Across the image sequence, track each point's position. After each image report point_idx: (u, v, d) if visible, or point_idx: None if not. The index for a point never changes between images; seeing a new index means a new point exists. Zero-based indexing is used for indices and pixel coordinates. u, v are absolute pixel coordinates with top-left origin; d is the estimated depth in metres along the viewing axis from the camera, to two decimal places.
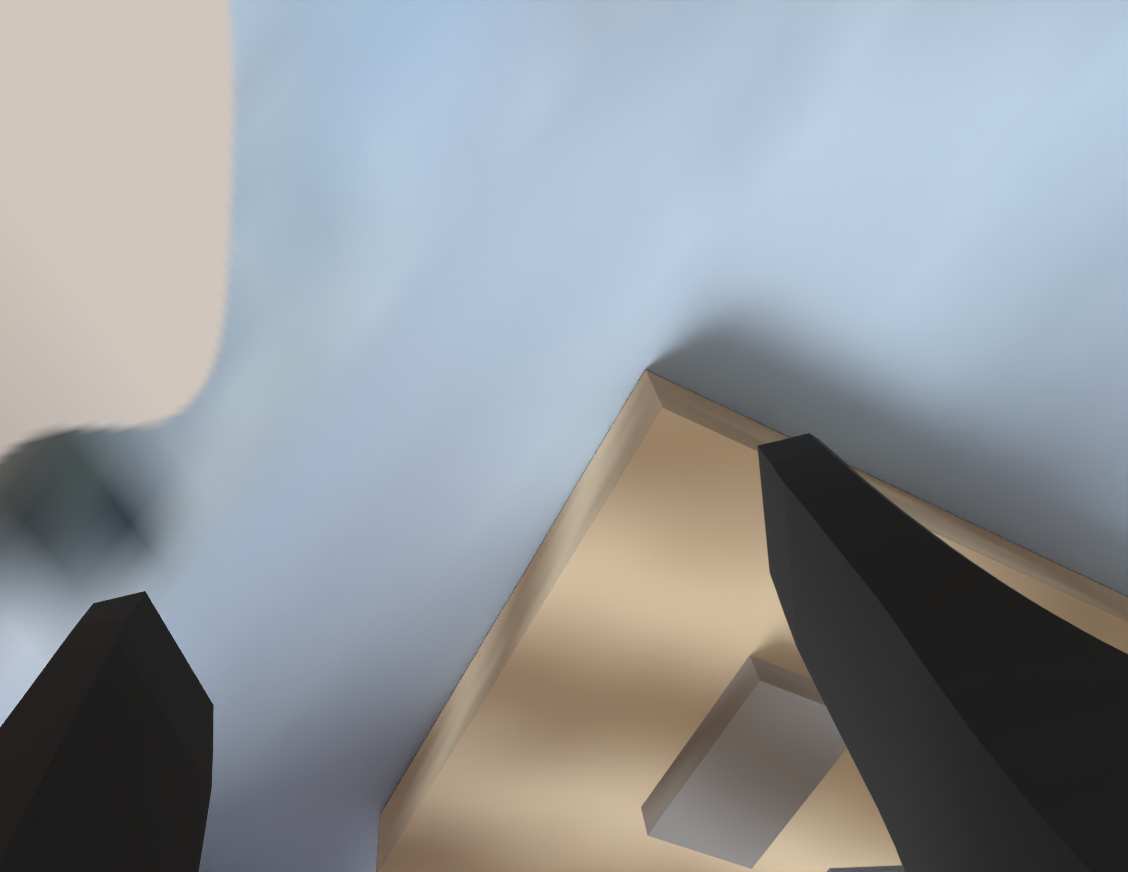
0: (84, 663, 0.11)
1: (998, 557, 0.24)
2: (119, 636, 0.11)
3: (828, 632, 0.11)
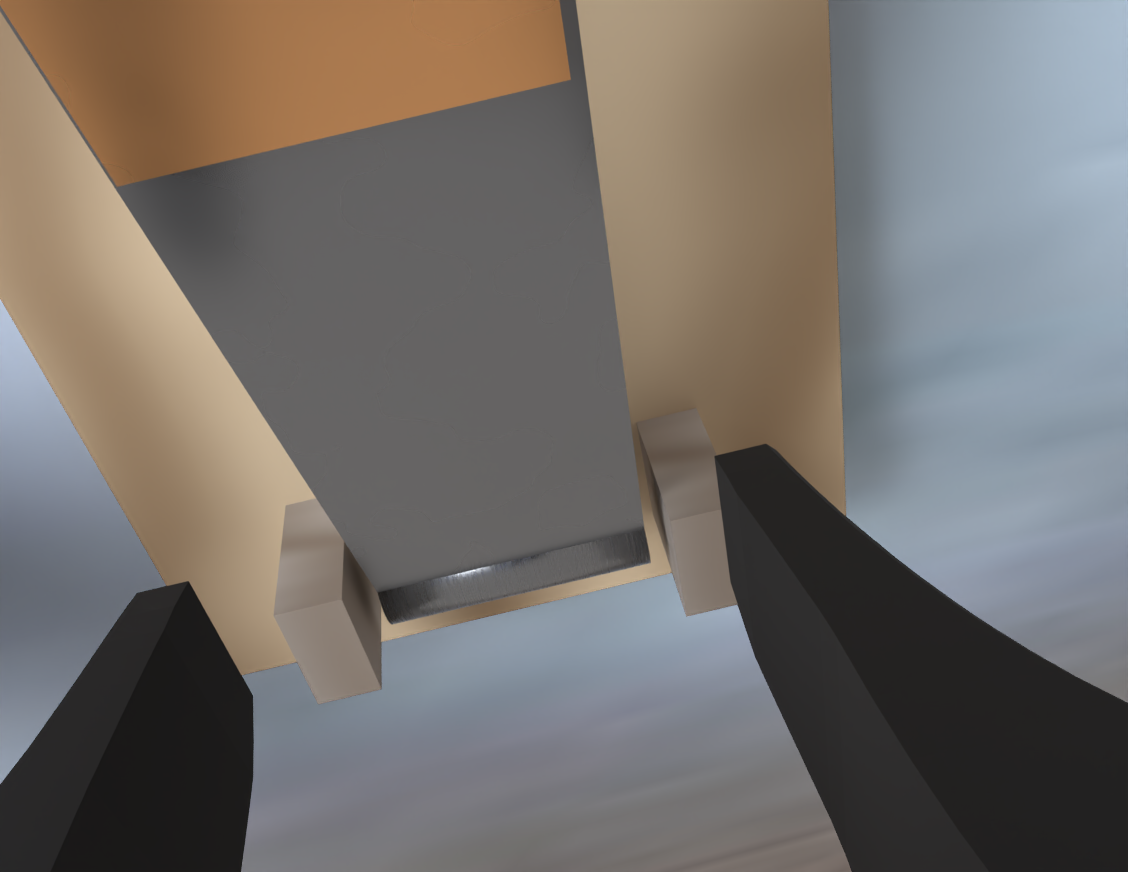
0: (133, 651, 0.11)
1: None
2: (166, 625, 0.11)
3: (781, 643, 0.11)
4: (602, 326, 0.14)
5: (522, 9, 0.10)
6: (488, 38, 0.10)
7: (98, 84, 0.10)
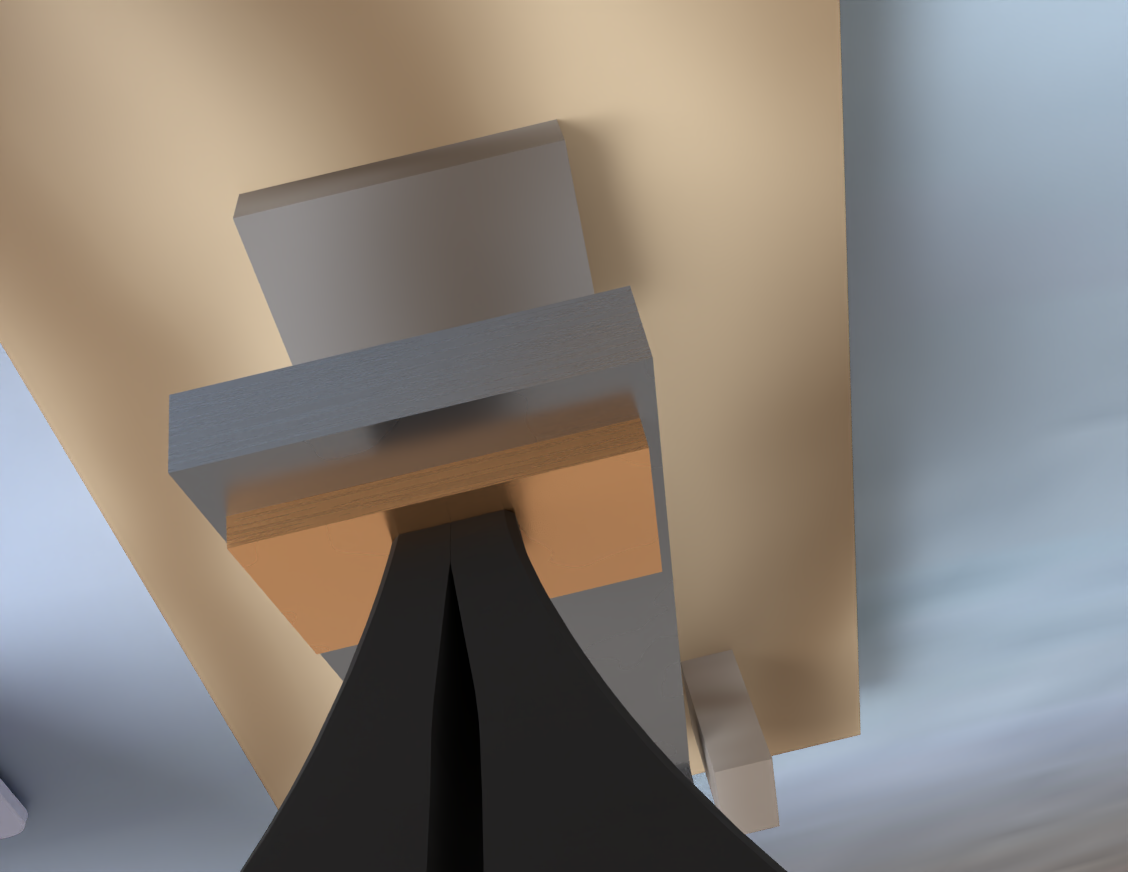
0: (425, 582, 0.11)
1: None
2: (450, 557, 0.11)
3: None
4: (668, 666, 0.18)
5: (631, 547, 0.13)
6: (604, 561, 0.13)
7: (317, 612, 0.13)
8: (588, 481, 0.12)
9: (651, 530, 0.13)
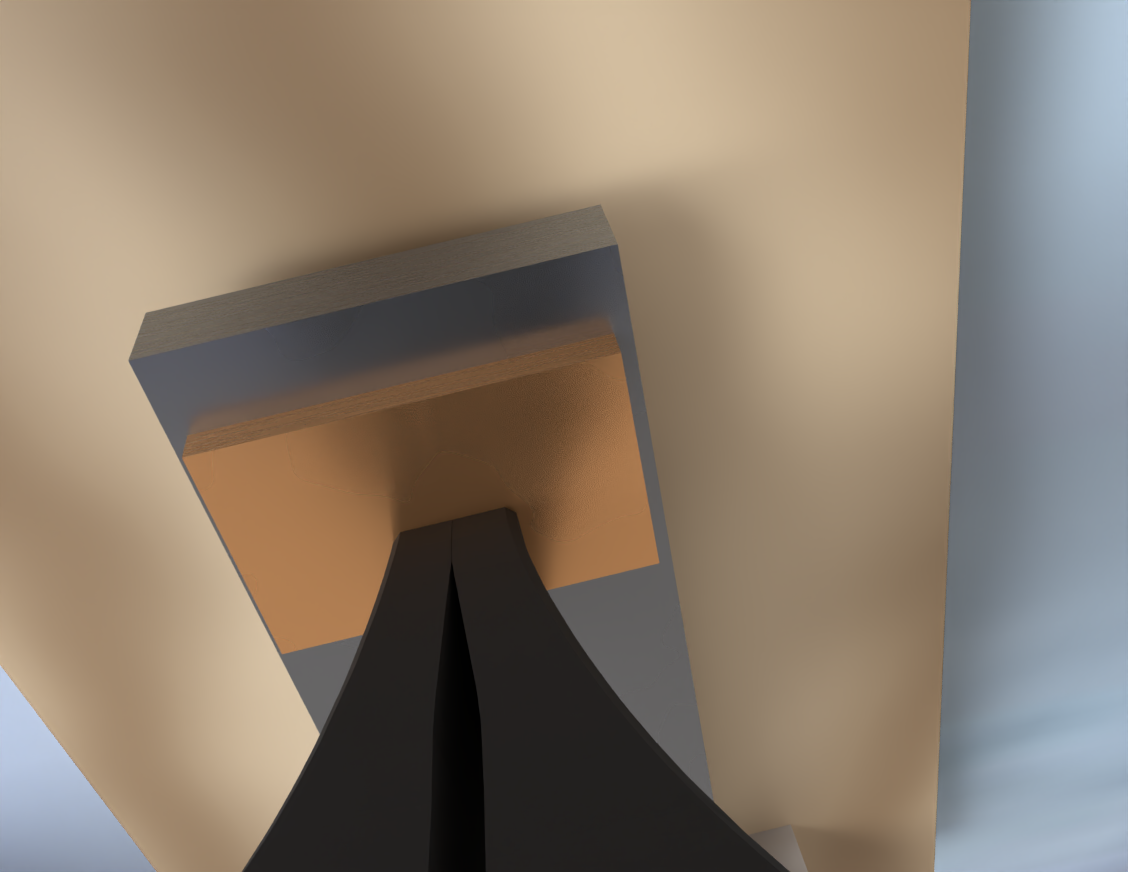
0: (426, 582, 0.11)
1: None
2: (451, 557, 0.11)
3: None
4: (691, 760, 0.16)
5: (619, 514, 0.12)
6: (591, 536, 0.12)
7: (280, 579, 0.12)
8: (561, 398, 0.11)
9: (639, 489, 0.12)
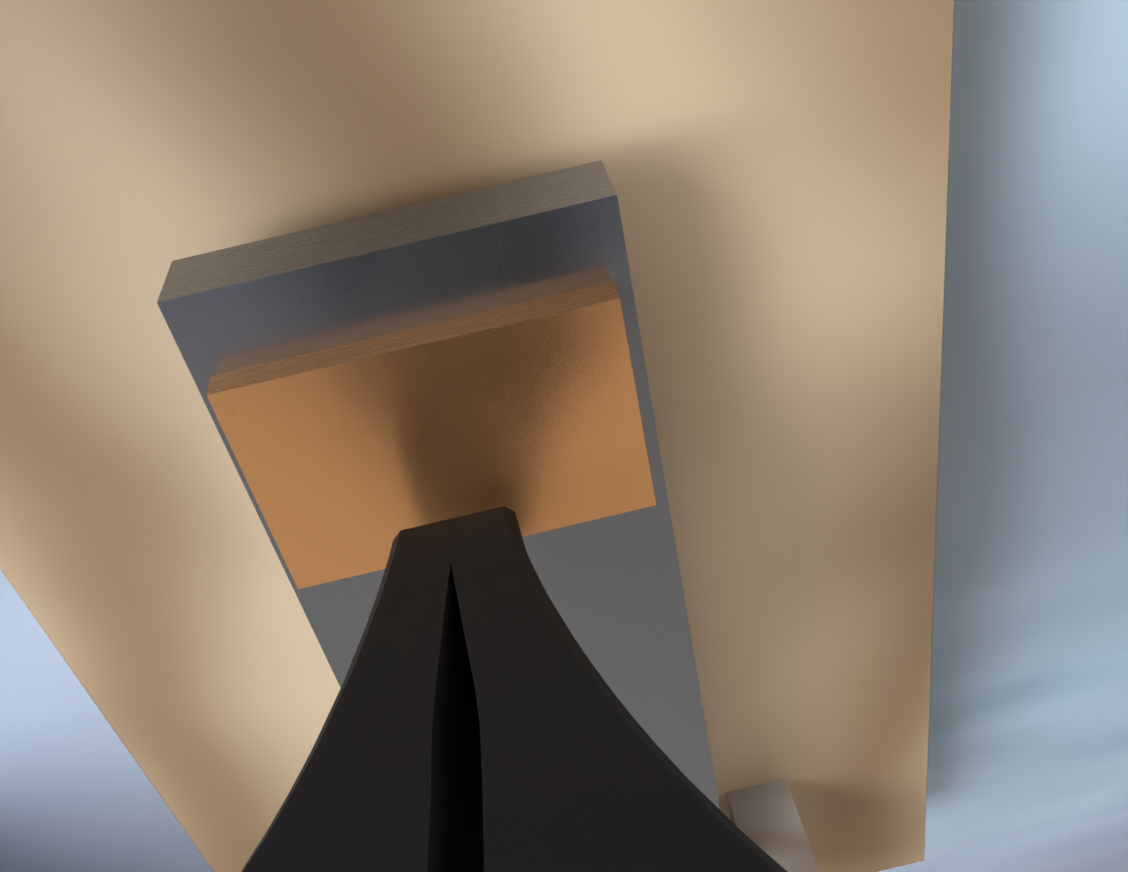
0: (426, 582, 0.11)
1: None
2: (451, 557, 0.11)
3: None
4: (688, 703, 0.16)
5: (618, 456, 0.13)
6: (591, 477, 0.13)
7: (297, 515, 0.13)
8: (563, 342, 0.12)
9: (637, 432, 0.13)
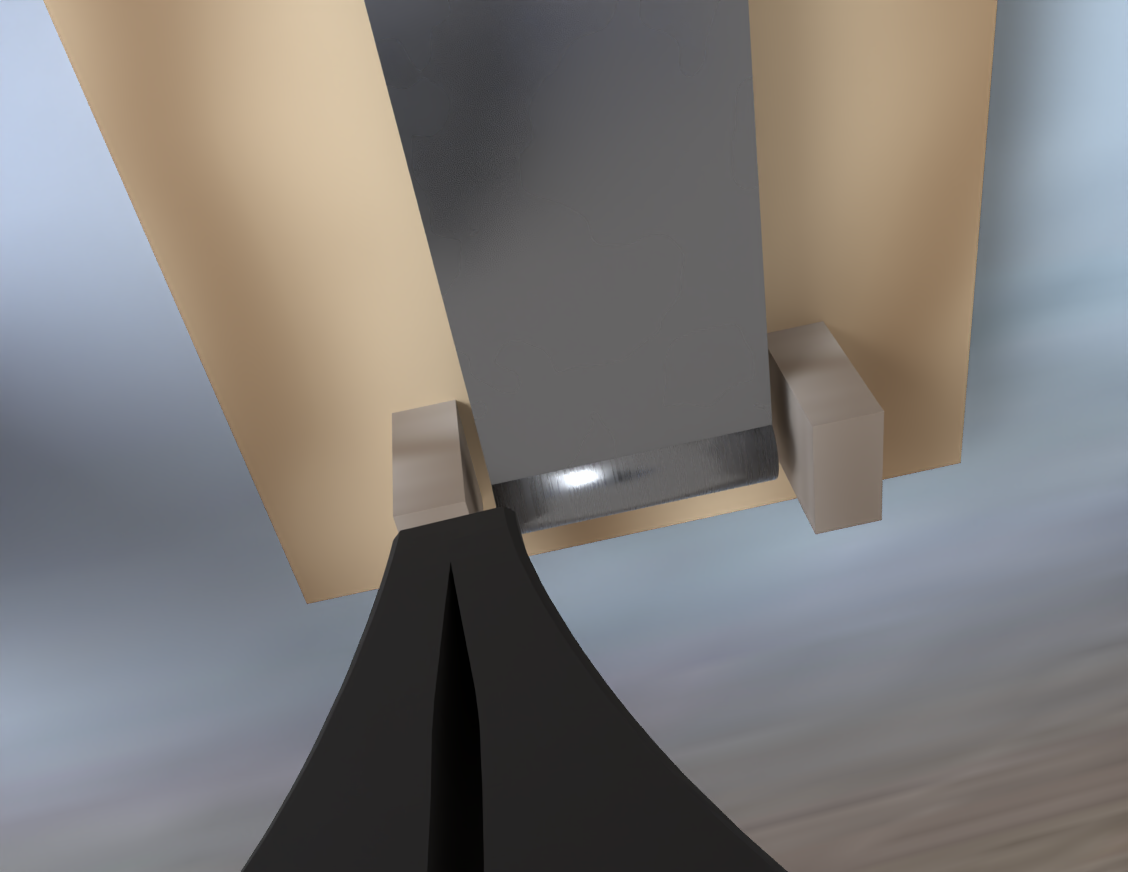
0: (426, 582, 0.11)
1: None
2: (451, 557, 0.11)
3: None
4: (738, 88, 0.15)
5: None
6: None
7: None
8: None
9: None
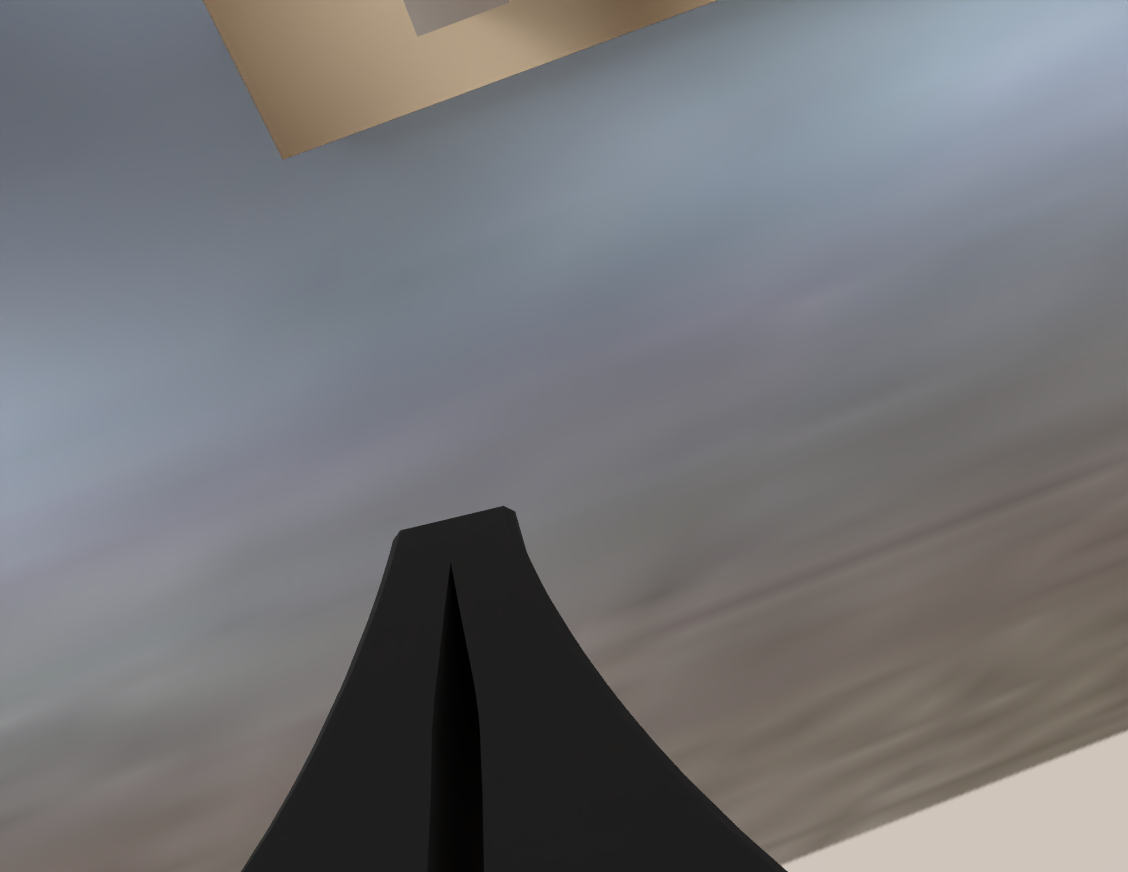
0: (426, 582, 0.11)
1: None
2: (451, 557, 0.11)
3: None
4: None
5: None
6: None
7: None
8: None
9: None
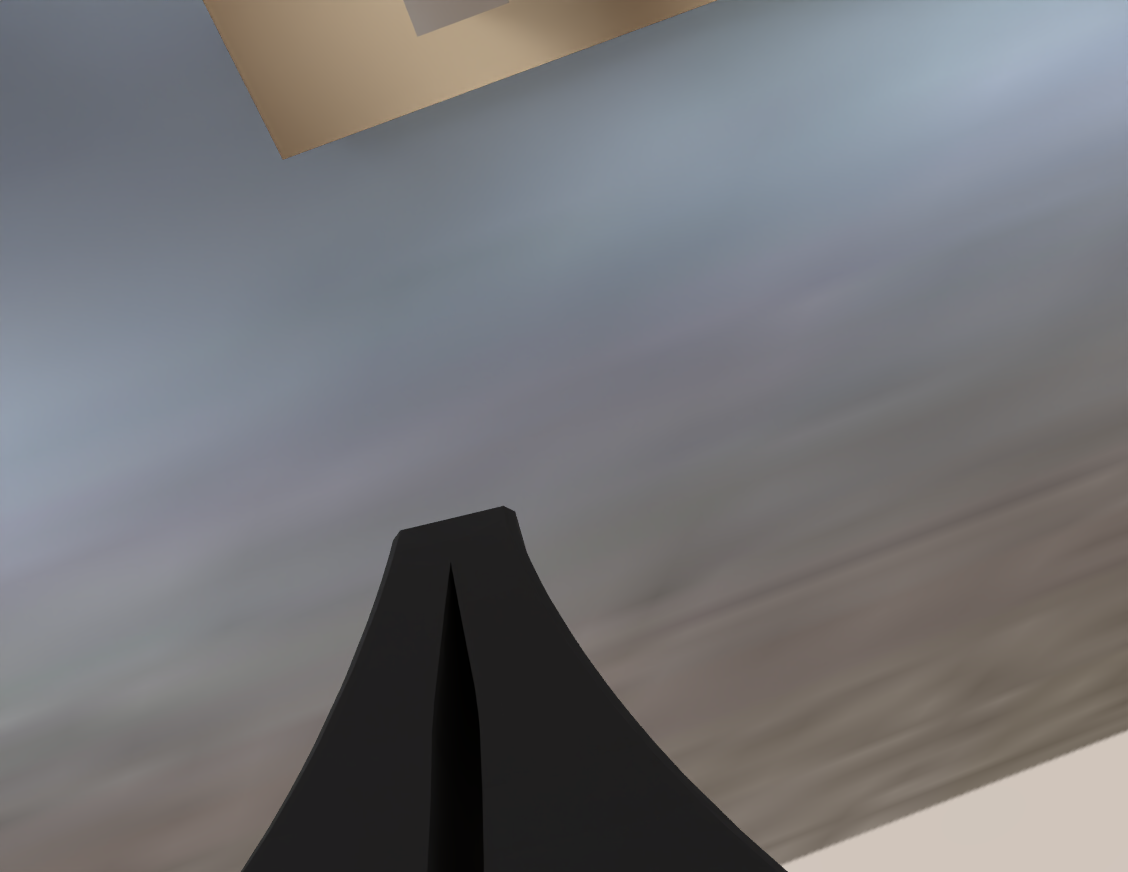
0: (426, 582, 0.11)
1: None
2: (451, 557, 0.11)
3: None
4: None
5: None
6: None
7: None
8: None
9: None
